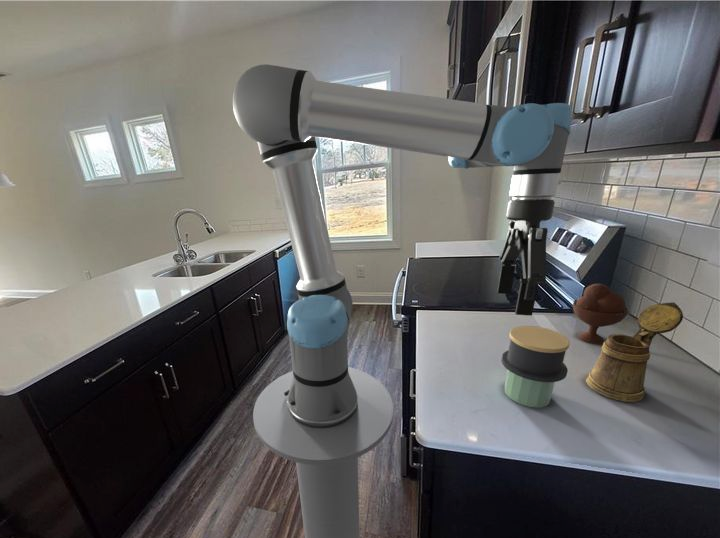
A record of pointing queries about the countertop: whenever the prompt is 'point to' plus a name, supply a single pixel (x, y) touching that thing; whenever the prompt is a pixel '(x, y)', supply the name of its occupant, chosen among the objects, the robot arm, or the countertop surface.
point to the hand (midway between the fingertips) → (512, 303)
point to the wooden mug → (631, 355)
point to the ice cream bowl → (598, 310)
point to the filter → (536, 354)
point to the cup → (528, 390)
